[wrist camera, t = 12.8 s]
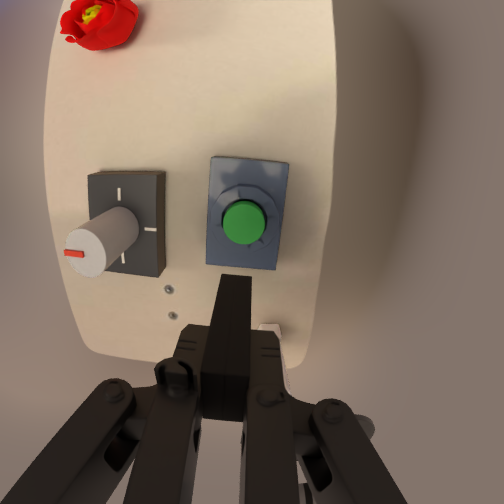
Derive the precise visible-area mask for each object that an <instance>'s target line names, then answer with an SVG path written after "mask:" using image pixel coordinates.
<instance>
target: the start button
mask: <svg viewBox="0 0 504 504" xmlns="http://www.w3.org/2000/svg"><path fill="white" fill-rule="evenodd" d="M264 228H265V220H264V215H263V212H262V210H261V209H260V208H259V206H257V205H256V204H255V203H253V202H250V201H239V202H236V203H234V204H233V205H231V206H230V207H229V208H228V210H227V211H226V214H225V216H224V219H223V229H224V232H225V234H226V235H227V237H228V238H229V239H230V240H232V241H233V242H235V243H238V244H250V243H253V242H255V241H256V240H258V239H259V238H260V237H261V235H262V234H263V232H264Z"/></svg>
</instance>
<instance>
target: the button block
mask: <svg viewBox="0 0 504 504" xmlns="http://www.w3.org/2000/svg"><path fill="white" fill-rule="evenodd" d="M288 170H289V164H288V163H285V162H276V161H267V160H257V159H246V158H234V157H219V156H214V157H211V164H210V179H209V195H208V214H207V236H206V264H209V265H220V266H231V267H242V268H253V269H265V270H276V263H277V255H278V248H279V241H280V234H281V226H282V219H283V211H284V203H285V195H286V187H287V179H288ZM239 201H250V202H253V203H255V204H256V205H257V206H259V208H260V209H261V210H262V212H263V215H264V220H265V228H264V232H263V234H262V235H261V237H260V238H259V239H258V240H256V241H255V242H253V243H250V244H238V243H235V242H233V241H232V240H230V239H229V238H228V237H227V235H226V234H225V232H224V229H223V219H224V216H225V214H226V211H227V210H228V208H229V207H230V206H231V205H233V204H234V203H236V202H239Z"/></svg>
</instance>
